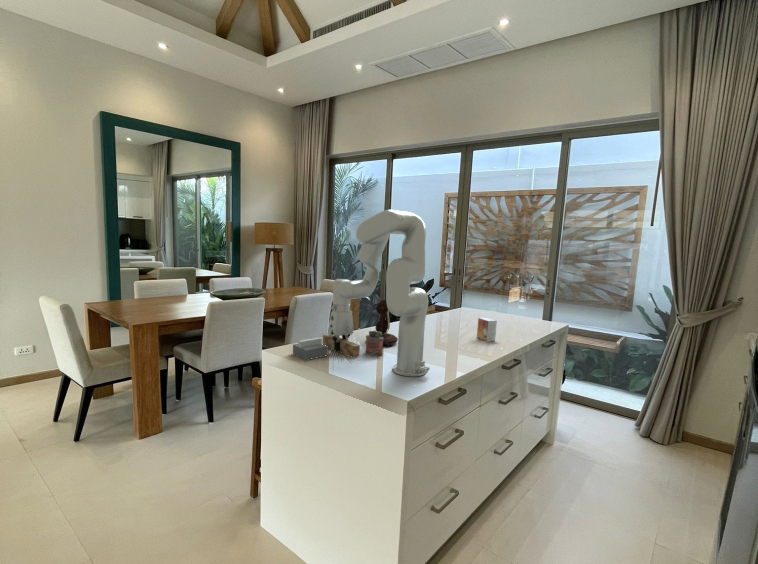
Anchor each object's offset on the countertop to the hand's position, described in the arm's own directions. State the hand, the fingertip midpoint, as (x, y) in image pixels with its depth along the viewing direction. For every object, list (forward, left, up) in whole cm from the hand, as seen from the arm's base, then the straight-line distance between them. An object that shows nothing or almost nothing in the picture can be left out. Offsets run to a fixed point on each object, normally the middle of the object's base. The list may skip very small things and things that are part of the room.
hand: (340, 349), depth 170 cm
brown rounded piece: (-1, -24, -1) cm, 24 cm away
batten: (0, 0, 0) cm, 0 cm away
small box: (-26, -74, -1) cm, 78 cm away
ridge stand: (+2, +14, 0) cm, 14 cm away
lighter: (-12, -9, -1) cm, 15 cm away
